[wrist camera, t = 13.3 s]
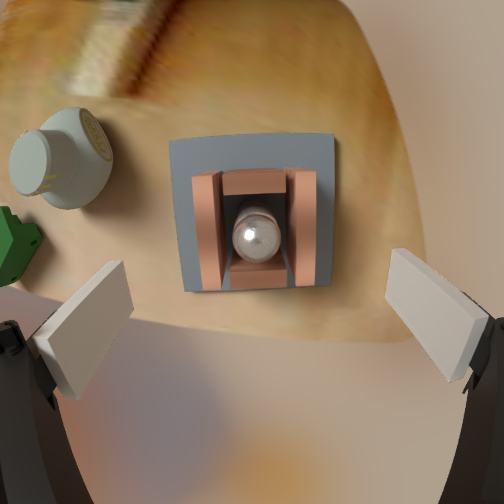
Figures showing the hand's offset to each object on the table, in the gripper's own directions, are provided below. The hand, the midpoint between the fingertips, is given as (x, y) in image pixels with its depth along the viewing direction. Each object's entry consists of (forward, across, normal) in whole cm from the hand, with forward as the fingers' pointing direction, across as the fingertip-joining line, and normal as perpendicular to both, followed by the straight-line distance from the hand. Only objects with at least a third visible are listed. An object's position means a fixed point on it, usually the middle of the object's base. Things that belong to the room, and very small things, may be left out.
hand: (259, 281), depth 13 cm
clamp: (+17, -33, -2) cm, 37 cm away
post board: (+17, 0, 0) cm, 17 cm away
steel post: (+16, 0, 0) cm, 16 cm away
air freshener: (+17, -19, +8) cm, 27 cm away
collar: (+16, 0, 0) cm, 16 cm away
